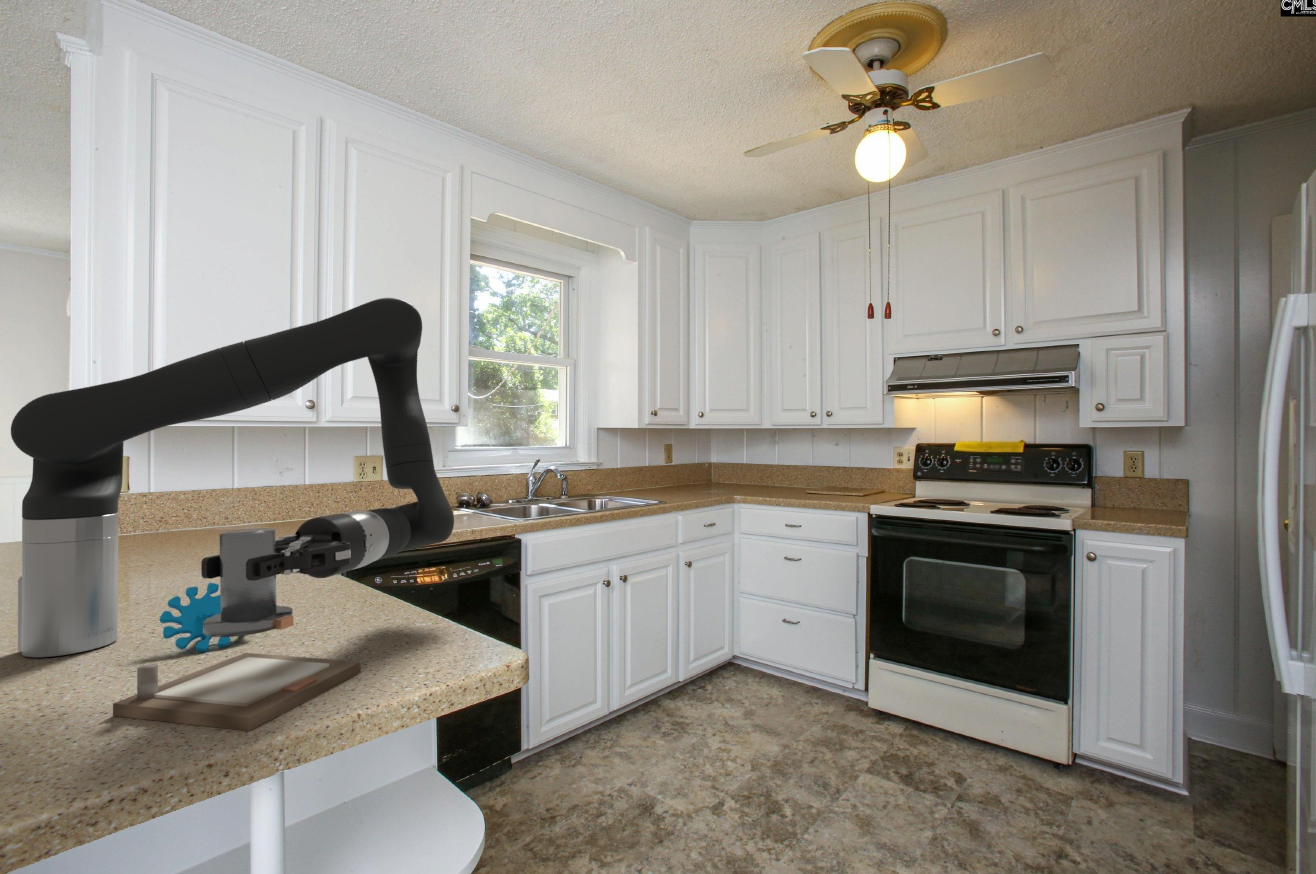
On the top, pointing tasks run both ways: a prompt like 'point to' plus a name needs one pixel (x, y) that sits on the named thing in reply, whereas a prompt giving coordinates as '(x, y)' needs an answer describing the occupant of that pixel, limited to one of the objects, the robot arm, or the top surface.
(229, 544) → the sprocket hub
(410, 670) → the top surface
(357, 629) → the top surface
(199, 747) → the top surface
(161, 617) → the gear
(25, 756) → the top surface
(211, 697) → the mount board
